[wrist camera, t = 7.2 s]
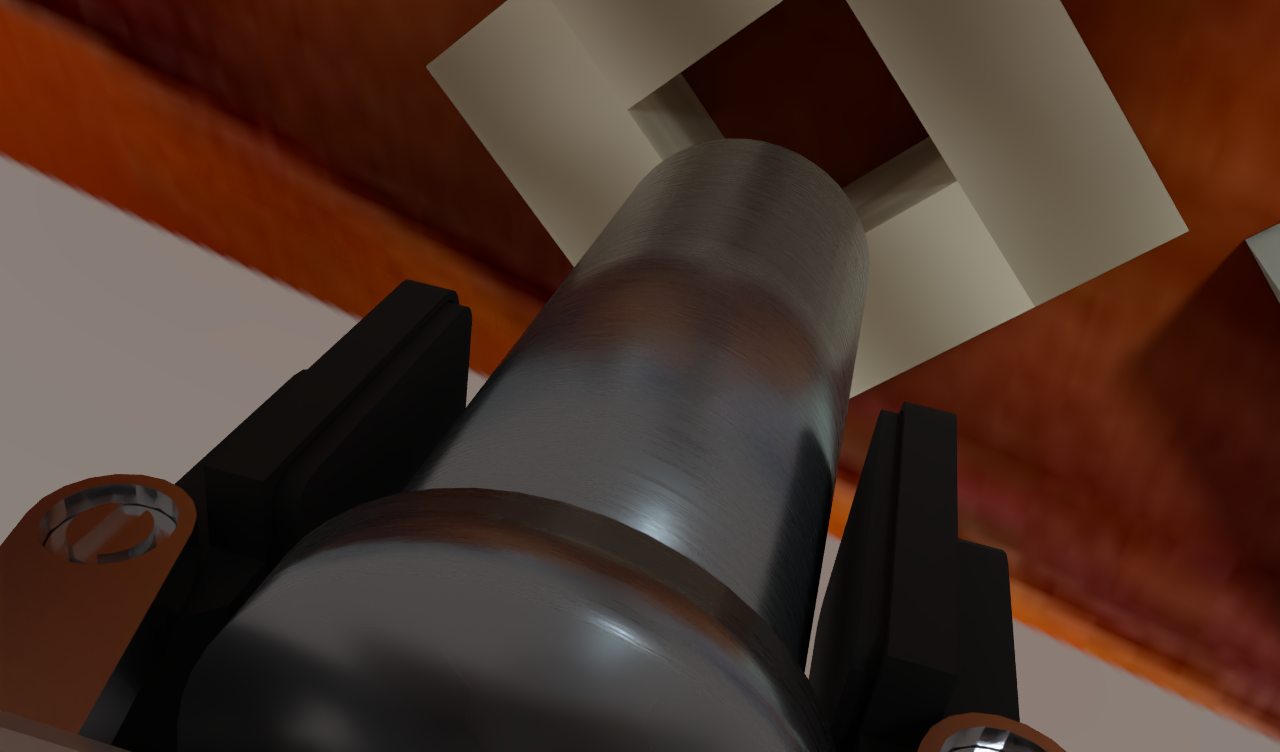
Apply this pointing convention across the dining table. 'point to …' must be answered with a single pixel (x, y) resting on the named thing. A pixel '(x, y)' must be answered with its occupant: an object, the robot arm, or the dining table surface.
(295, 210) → the dining table surface
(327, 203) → the dining table surface
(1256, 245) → the tray
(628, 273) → the steel pin
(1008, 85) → the pin block
